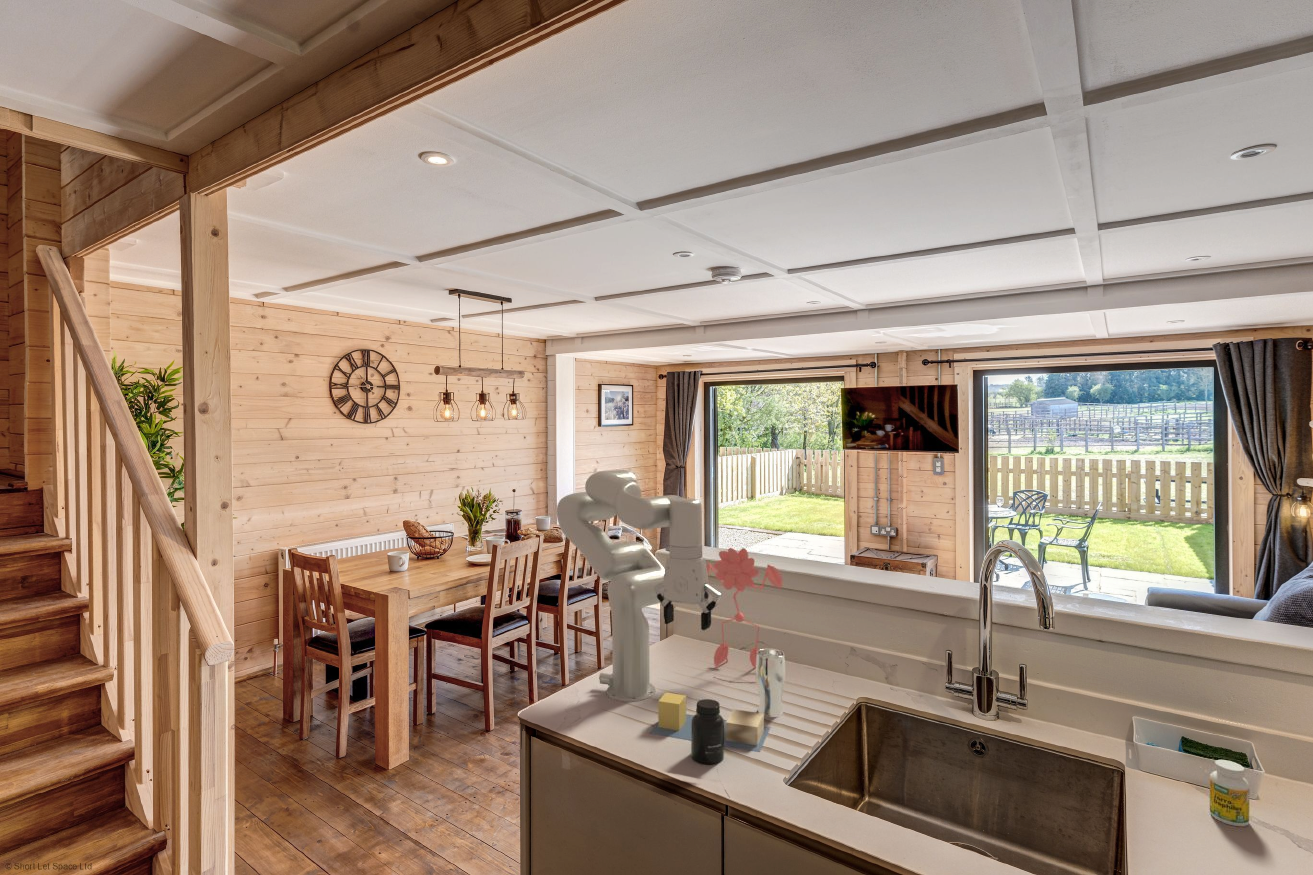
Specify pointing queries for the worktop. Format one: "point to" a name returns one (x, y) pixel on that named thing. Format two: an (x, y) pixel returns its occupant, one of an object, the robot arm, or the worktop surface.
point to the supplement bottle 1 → (707, 733)
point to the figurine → (739, 589)
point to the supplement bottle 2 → (1229, 793)
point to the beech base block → (745, 727)
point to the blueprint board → (686, 734)
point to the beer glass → (770, 681)
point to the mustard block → (672, 711)
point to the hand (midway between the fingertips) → (687, 625)
